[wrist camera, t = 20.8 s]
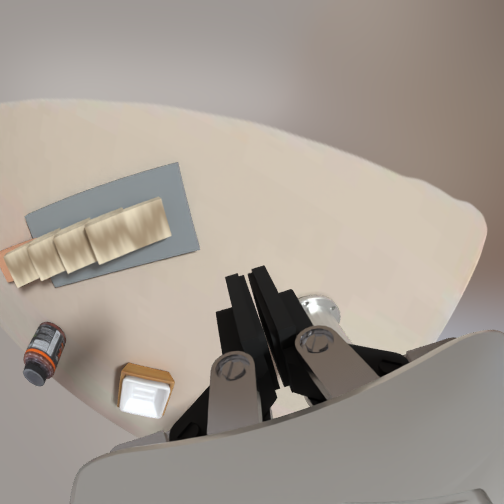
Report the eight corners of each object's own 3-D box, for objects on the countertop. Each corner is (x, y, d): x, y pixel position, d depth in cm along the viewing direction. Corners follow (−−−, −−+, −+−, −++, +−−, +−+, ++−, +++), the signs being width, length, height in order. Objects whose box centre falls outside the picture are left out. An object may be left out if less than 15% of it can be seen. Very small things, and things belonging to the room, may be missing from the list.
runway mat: (199, 246, 39) (199, 249, 38) (57, 284, 36) (55, 287, 36) (177, 161, 34) (177, 162, 33) (27, 214, 31) (24, 216, 30)
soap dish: (123, 356, 45) (120, 376, 40) (175, 367, 48) (175, 388, 44) (118, 393, 49) (116, 412, 44) (163, 402, 52) (163, 421, 48)
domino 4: (135, 245, 34) (67, 273, 30) (133, 241, 36) (68, 269, 32) (123, 209, 32) (52, 238, 28) (122, 207, 33) (54, 235, 29)
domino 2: (72, 263, 33) (17, 288, 29) (72, 259, 34) (19, 283, 31) (58, 230, 31) (3, 257, 27) (60, 227, 32) (6, 253, 28)
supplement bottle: (64, 350, 42) (48, 395, 32) (38, 336, 39) (18, 379, 29) (69, 329, 40) (50, 377, 30) (41, 315, 38) (17, 359, 28)
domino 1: (44, 272, 33) (7, 282, 33) (49, 267, 34) (12, 277, 34) (31, 242, 30) (-5, 255, 30) (36, 237, 32) (0, 251, 32)
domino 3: (102, 254, 34) (41, 281, 30) (102, 250, 35) (43, 276, 31) (89, 219, 32) (26, 248, 28) (89, 217, 33) (28, 244, 29)
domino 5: (171, 235, 35) (99, 264, 31) (168, 232, 36) (99, 260, 32) (161, 198, 33) (84, 227, 29) (158, 196, 34) (85, 224, 30)
